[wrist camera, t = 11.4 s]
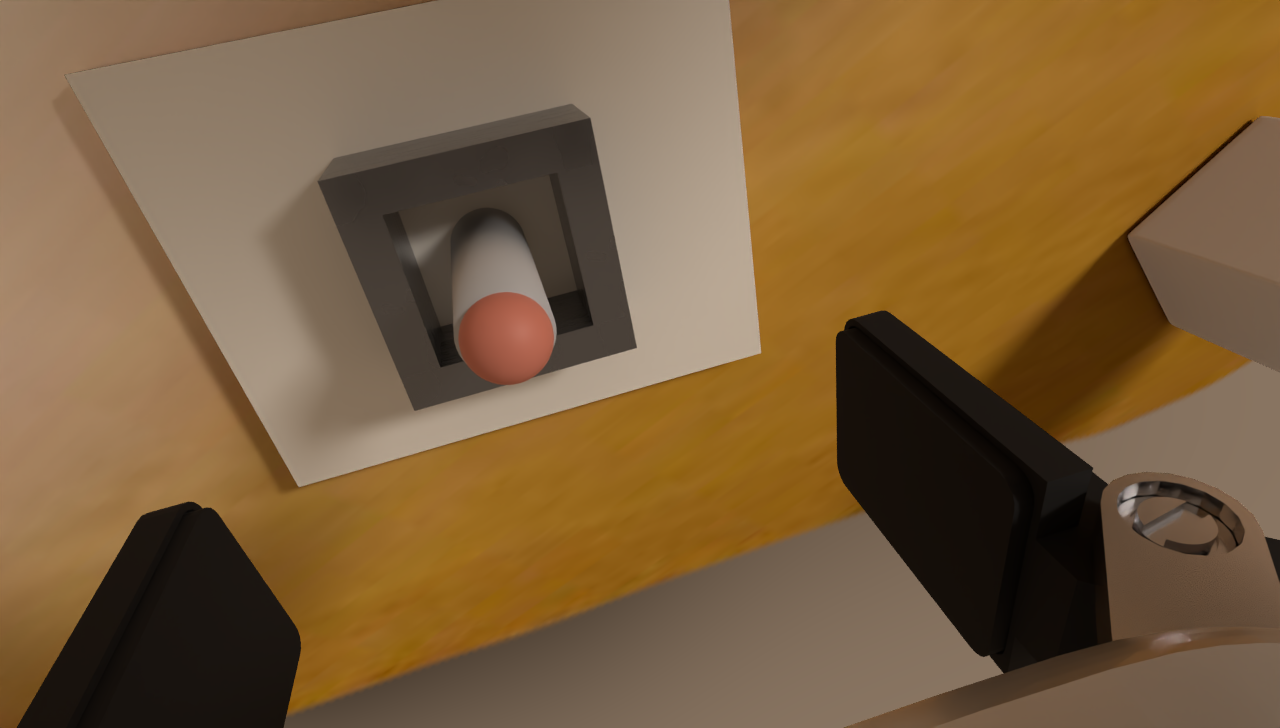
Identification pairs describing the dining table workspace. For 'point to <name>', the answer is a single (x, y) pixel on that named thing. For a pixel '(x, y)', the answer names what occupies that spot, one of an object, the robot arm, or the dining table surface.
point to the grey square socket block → (466, 164)
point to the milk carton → (1222, 248)
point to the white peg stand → (440, 206)
